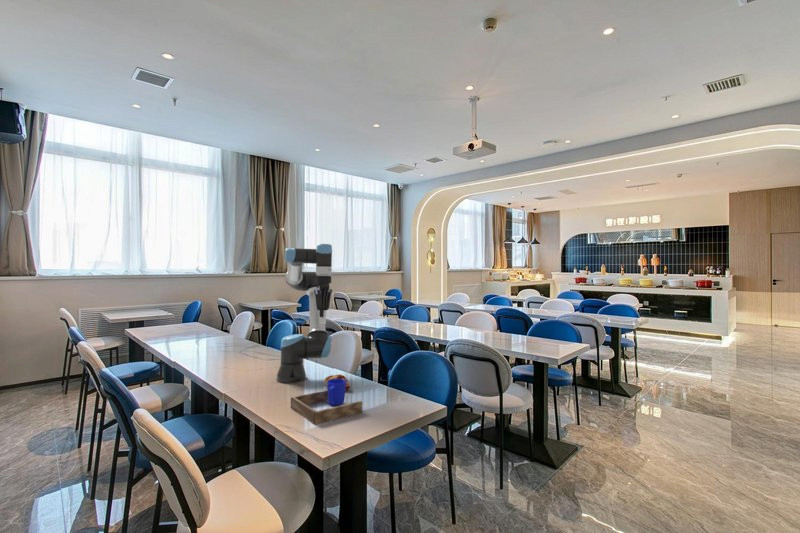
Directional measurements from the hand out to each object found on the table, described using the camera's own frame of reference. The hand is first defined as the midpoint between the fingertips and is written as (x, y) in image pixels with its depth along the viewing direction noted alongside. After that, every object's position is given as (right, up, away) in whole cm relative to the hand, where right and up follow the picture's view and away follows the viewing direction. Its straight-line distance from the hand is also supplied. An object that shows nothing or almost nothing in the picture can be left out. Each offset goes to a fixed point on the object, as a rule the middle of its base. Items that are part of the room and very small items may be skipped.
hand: (322, 323), depth 186 cm
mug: (+10, -32, -22) cm, 40 cm away
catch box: (+7, -32, -27) cm, 43 cm away
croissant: (+6, -33, +5) cm, 34 cm away
